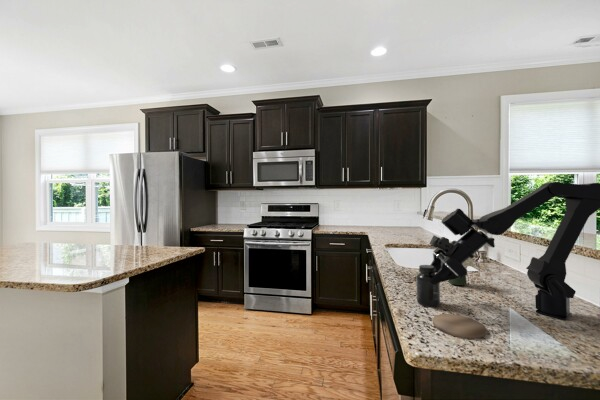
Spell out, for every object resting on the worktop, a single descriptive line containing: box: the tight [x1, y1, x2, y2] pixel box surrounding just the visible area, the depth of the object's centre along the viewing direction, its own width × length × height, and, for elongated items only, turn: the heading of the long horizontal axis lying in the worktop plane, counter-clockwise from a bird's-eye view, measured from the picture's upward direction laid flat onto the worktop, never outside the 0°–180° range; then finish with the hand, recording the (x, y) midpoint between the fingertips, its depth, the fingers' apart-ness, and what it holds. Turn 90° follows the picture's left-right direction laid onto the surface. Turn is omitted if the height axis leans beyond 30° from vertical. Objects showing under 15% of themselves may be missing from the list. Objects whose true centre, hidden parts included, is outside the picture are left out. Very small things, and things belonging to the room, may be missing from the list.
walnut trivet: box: [432, 313, 487, 339], centre depth 71 cm, size 12×12×1 cm
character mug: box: [448, 257, 474, 286], centre depth 107 cm, size 11×7×13 cm, turn 42°
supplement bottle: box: [415, 264, 441, 308], centre depth 87 cm, size 7×7×12 cm
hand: (428, 278), depth 87 cm, fingers open, 9 cm apart
